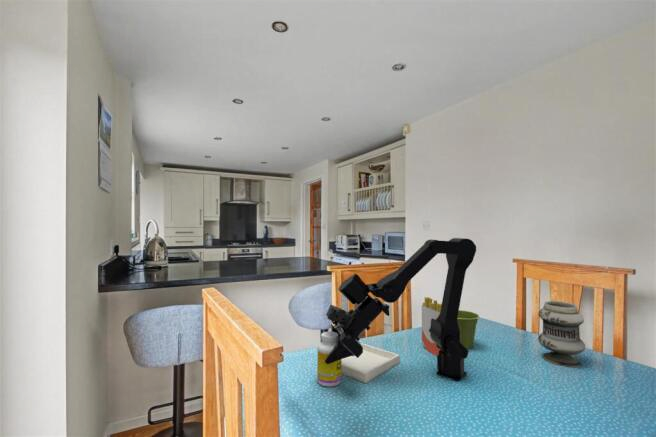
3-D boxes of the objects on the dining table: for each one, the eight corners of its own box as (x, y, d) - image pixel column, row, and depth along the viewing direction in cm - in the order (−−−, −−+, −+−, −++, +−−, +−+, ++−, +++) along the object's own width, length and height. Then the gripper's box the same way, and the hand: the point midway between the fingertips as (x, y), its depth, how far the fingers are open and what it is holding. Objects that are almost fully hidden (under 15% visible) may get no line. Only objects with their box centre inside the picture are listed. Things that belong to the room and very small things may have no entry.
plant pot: (449, 337, 121) (448, 308, 121) (482, 344, 114) (482, 313, 114) (439, 347, 111) (439, 315, 112) (476, 354, 104) (475, 320, 105)
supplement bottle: (339, 389, 82) (339, 339, 82) (314, 386, 83) (314, 337, 84) (343, 377, 89) (343, 331, 89) (320, 374, 90) (320, 329, 90)
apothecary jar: (543, 364, 97) (542, 306, 98) (534, 350, 108) (533, 298, 109) (592, 371, 92) (590, 310, 93) (577, 356, 104) (576, 301, 104)
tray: (399, 362, 98) (399, 354, 98) (366, 383, 85) (366, 374, 85) (354, 347, 110) (354, 340, 110) (318, 363, 97) (318, 356, 97)
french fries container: (432, 345, 112) (432, 295, 113) (453, 357, 102) (452, 302, 103) (421, 347, 111) (421, 296, 112) (441, 359, 101) (440, 303, 101)
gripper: (338, 289, 96) (302, 326, 95) (350, 303, 78) (305, 350, 76) (363, 314, 97) (327, 351, 95) (381, 334, 79) (337, 381, 77)
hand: (324, 357), depth 86 cm, fingers closed on supplement bottle, 7 cm apart
